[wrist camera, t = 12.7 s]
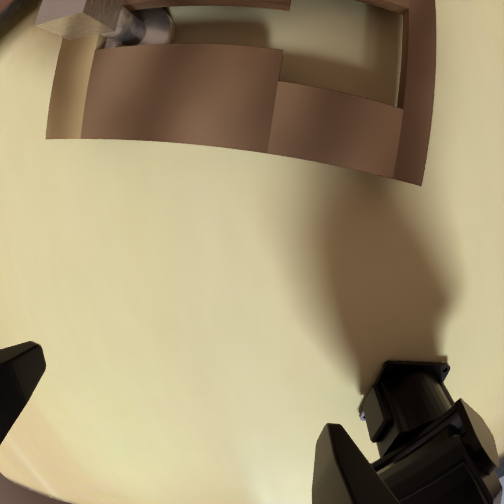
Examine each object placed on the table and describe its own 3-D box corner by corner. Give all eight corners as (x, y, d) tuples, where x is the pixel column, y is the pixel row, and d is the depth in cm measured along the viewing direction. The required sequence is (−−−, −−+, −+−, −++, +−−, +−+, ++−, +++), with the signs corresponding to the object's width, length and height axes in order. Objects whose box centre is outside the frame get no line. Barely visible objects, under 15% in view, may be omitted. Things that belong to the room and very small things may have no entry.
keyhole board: (416, -7, 13) (432, -25, 10) (401, 180, 17) (421, 186, 14) (110, -29, 14) (92, -45, 11) (72, 138, 18) (45, 139, 15)
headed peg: (182, 6, 15) (128, -61, 7) (167, 72, 16) (95, 28, 8) (116, 13, 15) (45, -34, 7) (101, 75, 17) (15, 49, 8)
